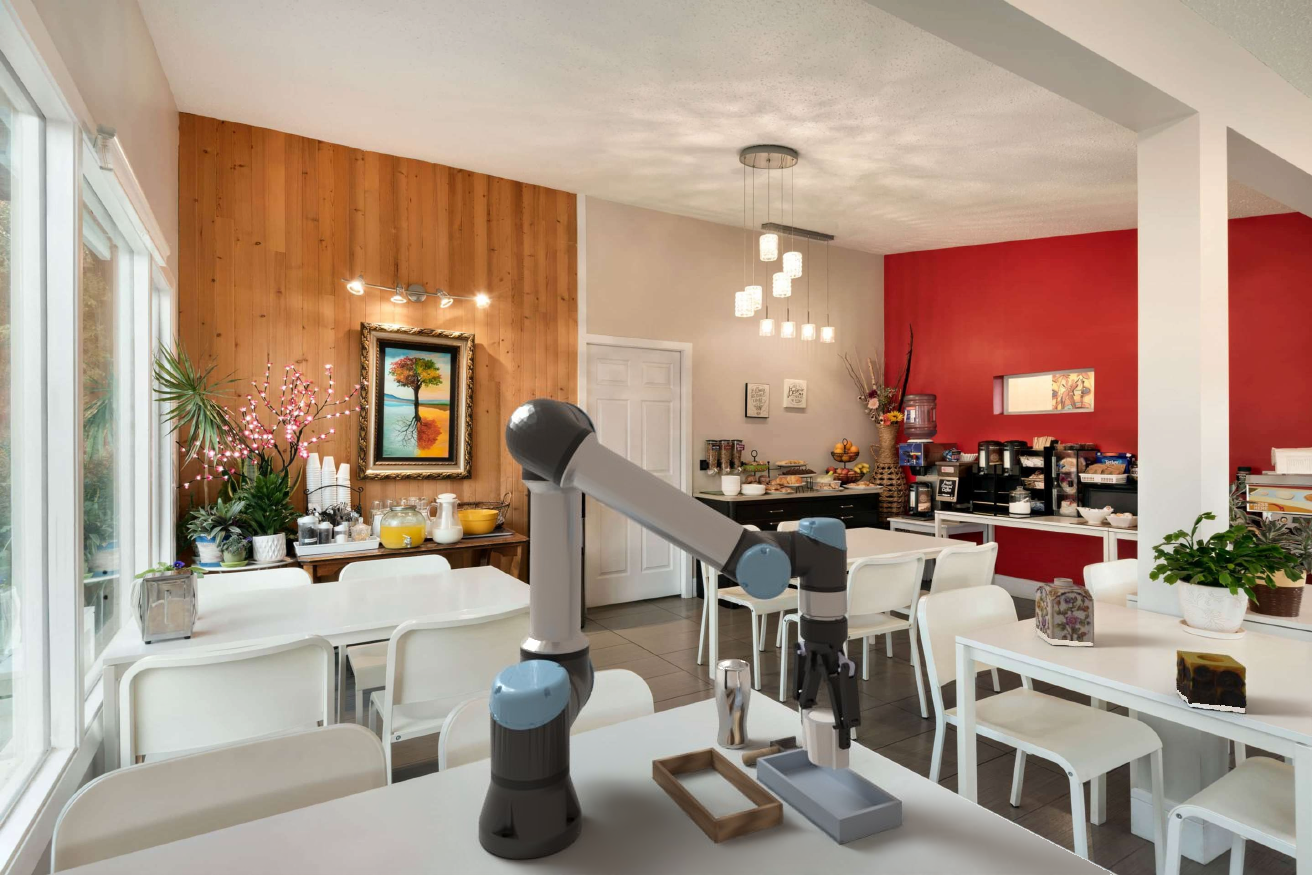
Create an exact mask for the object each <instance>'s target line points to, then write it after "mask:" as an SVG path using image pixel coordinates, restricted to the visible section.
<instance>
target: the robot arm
mask: <svg viewBox="0 0 1312 875" xmlns="http://www.w3.org/2000/svg"><path fill="white" fill-rule="evenodd" d="M596 430H597V429H596V427H595V424H594V422H593V421H592V418H591V417H590V416H589V415H588V413H586V412H585V411H584V410H583V409H582V408H580V407H579V406H577V405H575V404H574V403H570V402H567V401H559V400H556V399H552V398H545V397H544V398H541V397H539V398H534V399H530V400H528V401H525V402H524V403H522V404H520V405H519V406H518V407H517V408H516V409H515V410H514V411H513V412H512V413H511V415H510V417H509V419H508V420H507V424H506V426H505V432H504V435H505V436H504V439H505V444H506V447H507V450H508V452H509V454H510V456H511V457H512V458H513V460H514V461H515V462H516V463H517V464H518V465H519V466H521V482H522V483H523V485H525V486H526V487H527V489H529V491H530V533H529V534H530V536H529V537H530V538H529V539H530V540H529V542H530V544H529V545H530V546H529V547H530V548H529V550H530V552H529V553H530V554H529V632H528V633H527V635H526V636H525V637H524V638H523V639H521V641H520V642H519V645H520V646H519V649H520V650H519V656H520V657H519V662H517V663H516V664H515V665H509V666H506V667H505V668H504V669H502V670H501V671H500V672H499V673H497V674H496V676H495V677H494V679H493V681H492V683H491V689H490V695H489V704H488V706H489V712H490V713H489V714H490V721H489V722H490V723H489V724H490V725H489V726H490V727H489V728H490V731H489V732H490V783H489V785H488V789H487V792H486V795H485V797H484V798H485V799H484V802H483V805H482V808H481V811H480V815H479V818H478V840H479V843H480V845H481V846H482V847H483V848H484V849H485V850H486V851H487V852H489V853H491V854H492V855H496V856H498V857H502V858H507V859H516V860H518V859H519V860H522V859H523V860H524V859H526V860H527V859H534V858H540V857H545V856H549V855H551V854H554V853H557V852H559V851H561V850H563V849H565V848H566V847H568V846H569V845H571V844H572V843H573V842H574V841H575V840H576V839H577V838H578V836H579V835H580V833H581V831H582V827H583V826H582V825H583V824H582V820H583V817H582V816H583V815H582V808H581V807H582V806H581V804H580V801H579V798H578V795H577V792H576V789H575V786H574V783H573V779H572V776H571V771H570V770H571V768H570V765H571V764H570V763H571V760H570V759H571V758H570V757H571V754H570V753H571V745H570V744H571V742H570V741H571V740H570V739H571V738H570V736H571V735H570V733H571V728H572V727H573V725H574V723H575V721H576V720H577V719H578V717H579V714H580V712H582V710H583V708H584V707H585V706H586V704H587V703H588V701H589V699H590V698H591V695H592V692H593V689H594V684H595V668H594V664H593V661H592V660H591V657H590V639H589V637H587V636H586V635H585V634H584V633H583V632H582V630H581V624H582V623H581V621H582V618H581V616H582V615H581V612H582V610H581V608H582V607H581V606H582V603H581V602H582V601H581V600H582V599H581V598H582V597H581V596H582V595H581V594H582V508H583V506H582V500H583V499H582V498H583V497H582V495H583V494H585V495H587V496H588V497H590V498H592V499H594V500H595V501H598V502H599V503H601V504H603V505H605V506H606V507H608V508H609V509H611V510H613V511H614V512H616V513H618V514H620V515H621V516H623V517H625V518H626V519H627V520H629V521H632V522H633V523H635V524H637V525H639V526H640V527H642V528H644V529H646V530H647V531H649V532H651V533H653V534H654V535H655V536H658V537H660V538H661V539H662V540H665V541H666V542H668V543H669V544H672V545H673V546H674V547H676V548H678V549H680V550H682V551H684V552H685V553H687V554H688V555H691V556H693V557H694V558H695V559H697V560H699V561H701V563H704V564H706V565H707V566H710V568H713V570H716V571H717V572H719V573H721V574H723V576H725V577H727V578H729V579H730V580H732V581H733V582H735V583H737V584H738V585H739V587H740V588H741V589H742V590H743V591H744V592H745V593H746V594H747V595H748V596H750V597H752V598H755V599H756V600H757V599H758V600H763V601H766V600H772V599H774V598H776V597H779V596H780V595H782V594H783V593H784V591H786V589H787V588H788V586H789V584H790V581H791V578H793V579H794V578H799V579H798V580H799V587H798V588H799V590H798V591H799V592H798V594H799V597H798V598H799V604H798V605H799V606H798V607H799V609H798V610H799V611H800V613H801V615H800V616H799V635H800V638H801V639H802V640H800V641H795V642H793V643H792V649H793V657H794V658H793V672H792V673H793V674H792V690H791V692H792V693H791V695H792V696H791V698H792V700H793V701H796V702H797V703H798V706H799V708H800V718H801V720H800V723H801V727H802V746H803V750H805V751H807V750H808V749H807V740H806V730H805V721H804V713H805V712H806V711H808V710H810V709H816V708H817V707H816V706H818V705H819V703H818V702H817V696H818V693H819V689H820V683H821V680H823V682H824V683H825V684H826V687H827V690H828V696H829V700H830V705H831V709H832V710H833V715H834V719H835V724H836V725H833V726H832V768H833V769H834V770H839V769H842V768H846V767H848V768H850V749H851V746H852V738H851V735H852V732H851V731H852V729H853V728H857V727H860V726H862V720H861V719H862V718H861V710H860V709H861V706H860V696H859V695H860V694H859V683H858V672H859V669H860V668H859V667H860V666H859V662H858V661H857V660H850V659H849V658H847V656H846V653H845V650H844V644H845V642H846V641H847V640H848V638H849V632H848V628H849V625H848V623H849V621H848V620H849V619H848V618H847V616H846V615H847V613H848V589H847V588H848V547H847V533H846V524H845V523H844V522H843V521H842V520H841V519H837V518H833V517H805V518H801V519H800V520H799V521H798V527H797V529H796V530H795V529H794V530H788V531H787V530H785V531H783V530H782V531H781V530H750V529H748V528H746V527H745V526H744V525H742V524H740V523H738V522H737V521H735V520H733V519H732V518H729V517H728V516H726V515H724V514H722V513H721V512H719V511H717V510H715V509H713V508H712V507H710V506H708V505H707V504H706V503H703V502H702V501H700V500H698V499H697V498H695V497H693V496H692V495H690V494H688V493H686V492H684V491H683V490H681V489H679V488H677V487H676V486H674V485H673V484H670V482H669V483H668V482H667V481H665V480H664V479H661V478H660V477H658V476H656V475H655V474H654V473H651V472H650V471H648V470H646V469H645V468H643V467H641V466H640V465H638V464H636V463H635V462H633V461H631V460H629V459H627V458H625V457H624V456H622V455H620V454H619V453H617V452H615V451H613V450H612V449H610V448H608V447H606V446H605V445H603V444H602V443H600V442H599V441H598V436H597V431H596ZM582 493H583V494H582ZM842 718H843V720H842Z"/></svg>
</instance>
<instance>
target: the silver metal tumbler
mask: <svg viewBox="0 0 1312 875" xmlns="http://www.w3.org/2000/svg"><path fill="white" fill-rule="evenodd" d="M714 668H715V670H714V697H715V703H716V709H717V716H718V723H719V724H718V731H717V736H716V737H717V739H716V742H717V744H718V745H719V746H720V747H722V748H724V747H725V748H726V749H728V748H729V750H739V749H744V748H747V746H749V745H750V744H749V743H750V739H749V734H748V726H747V723H748V714H749V709H750V702H751V694H752V693H751V692H752V684H751V683H752V681H751V680H752V678H751V670H750V669H751V668H750V663H749V662H747V661H745V660H742V659H737V658H729V659H728V658H726V659H721V660H718V661H716V662H715V667H714Z"/></svg>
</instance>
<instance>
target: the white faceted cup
mask: <svg viewBox="0 0 1312 875" xmlns="http://www.w3.org/2000/svg"><path fill="white" fill-rule="evenodd" d="M842 720H843V718H842ZM804 721H805V730H806V740H807V749H808V757H809V760H810V761H811V762H812V763H814V764H816V765H818V766H823V767H832V726H833V725H836V724H835V719H834V715H833V710H832V708H826V707H816V709H810V710H808V711H806V712H805V713H804Z"/></svg>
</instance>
